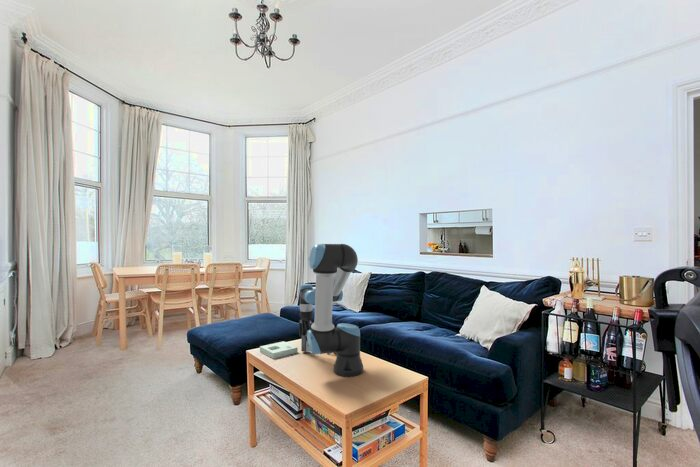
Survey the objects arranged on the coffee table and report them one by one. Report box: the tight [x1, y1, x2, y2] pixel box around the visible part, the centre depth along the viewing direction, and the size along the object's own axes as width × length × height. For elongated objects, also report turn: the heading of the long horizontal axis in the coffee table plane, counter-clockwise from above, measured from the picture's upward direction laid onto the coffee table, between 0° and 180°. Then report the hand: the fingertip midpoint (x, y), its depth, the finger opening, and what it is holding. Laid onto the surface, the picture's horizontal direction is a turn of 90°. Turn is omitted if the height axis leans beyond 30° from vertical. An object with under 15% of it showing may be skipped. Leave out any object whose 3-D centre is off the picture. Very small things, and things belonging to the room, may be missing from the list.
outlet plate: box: [259, 341, 299, 359], centre depth 208 cm, size 16×16×3 cm
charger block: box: [300, 334, 307, 353], centre depth 207 cm, size 4×4×9 cm
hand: (306, 350), depth 207 cm, fingers closed on charger block, 4 cm apart
